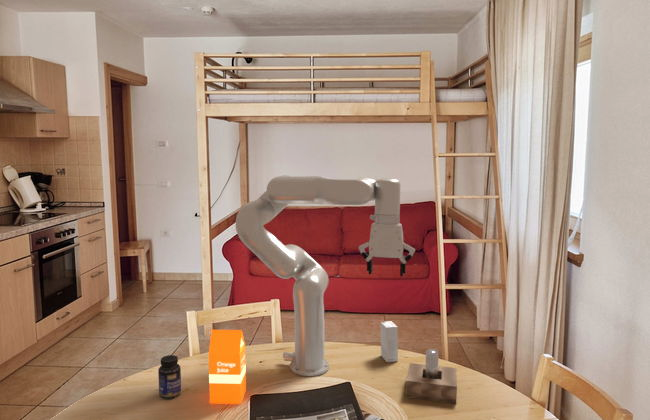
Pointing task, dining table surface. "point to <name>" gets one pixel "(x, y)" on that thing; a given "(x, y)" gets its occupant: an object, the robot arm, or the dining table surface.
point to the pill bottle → (169, 377)
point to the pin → (431, 364)
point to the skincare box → (389, 341)
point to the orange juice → (227, 367)
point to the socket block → (432, 384)
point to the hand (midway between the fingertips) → (386, 274)
